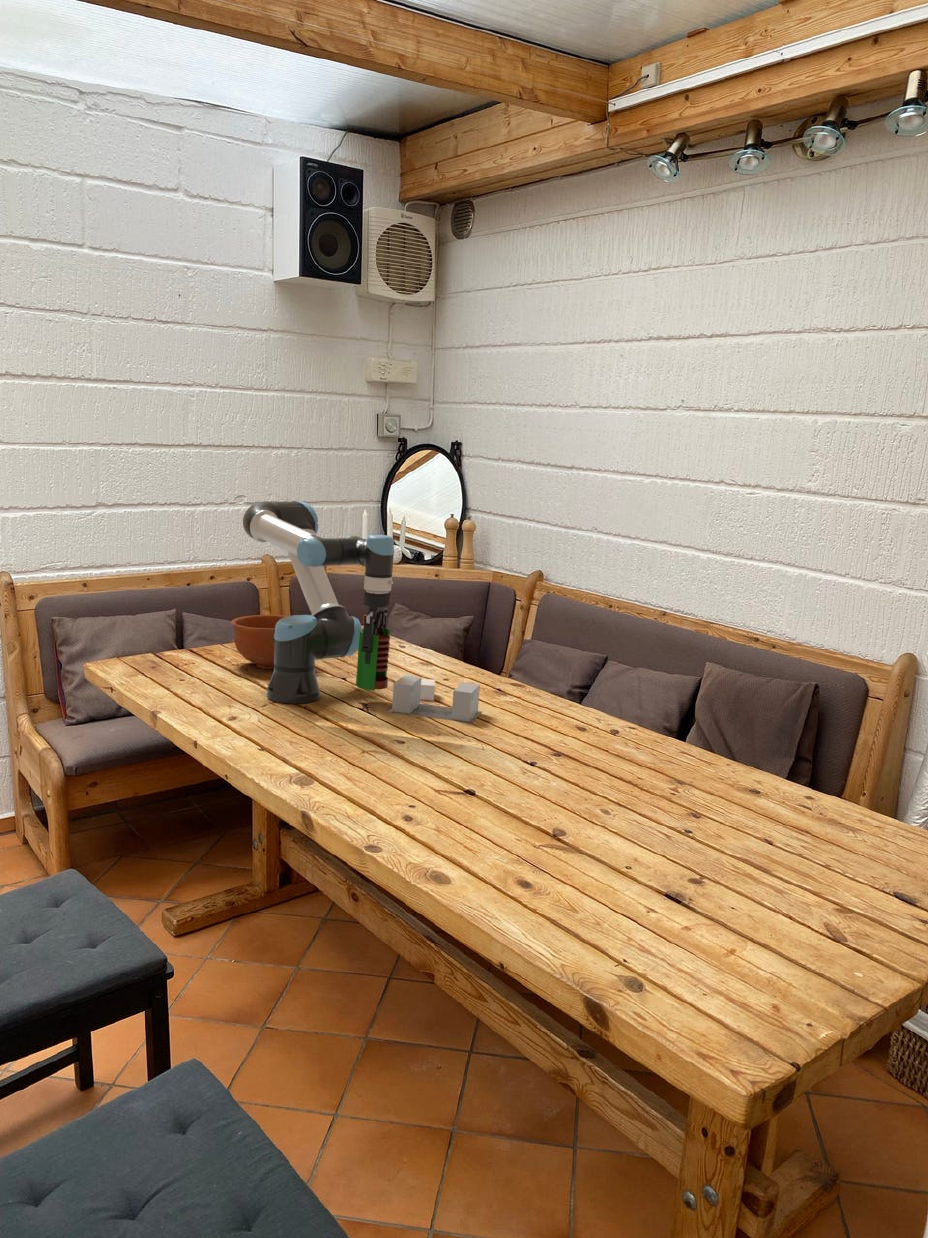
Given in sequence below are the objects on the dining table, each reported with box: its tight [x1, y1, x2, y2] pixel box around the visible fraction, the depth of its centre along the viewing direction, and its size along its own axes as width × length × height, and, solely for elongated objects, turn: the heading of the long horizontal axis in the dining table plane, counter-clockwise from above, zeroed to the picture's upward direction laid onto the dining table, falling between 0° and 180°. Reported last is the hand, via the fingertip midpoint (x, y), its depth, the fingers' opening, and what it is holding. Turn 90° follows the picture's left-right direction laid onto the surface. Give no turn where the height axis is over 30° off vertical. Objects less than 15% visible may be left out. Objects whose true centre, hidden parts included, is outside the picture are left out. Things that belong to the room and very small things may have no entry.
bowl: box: [230, 614, 289, 670], centre depth 309 cm, size 25×25×15 cm
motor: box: [355, 614, 391, 692], centre depth 267 cm, size 10×9×20 cm
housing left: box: [391, 675, 423, 714], centre depth 266 cm, size 5×10×8 cm, turn 166°
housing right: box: [451, 681, 481, 721], centre depth 262 cm, size 5×10×8 cm, turn 166°
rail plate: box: [387, 703, 483, 724], centre depth 265 cm, size 24×12×2 cm, turn 76°
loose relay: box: [420, 678, 436, 701], centre depth 280 cm, size 5×7×6 cm
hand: (372, 671), depth 268 cm, fingers closed on motor, 7 cm apart
